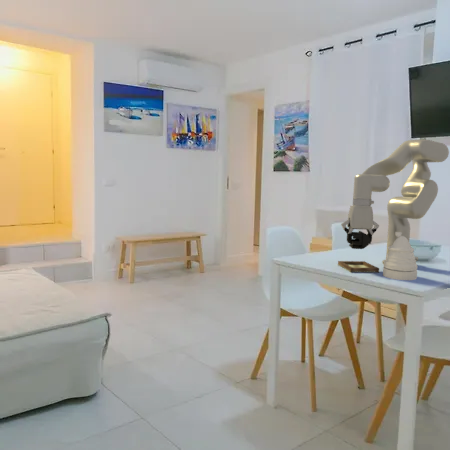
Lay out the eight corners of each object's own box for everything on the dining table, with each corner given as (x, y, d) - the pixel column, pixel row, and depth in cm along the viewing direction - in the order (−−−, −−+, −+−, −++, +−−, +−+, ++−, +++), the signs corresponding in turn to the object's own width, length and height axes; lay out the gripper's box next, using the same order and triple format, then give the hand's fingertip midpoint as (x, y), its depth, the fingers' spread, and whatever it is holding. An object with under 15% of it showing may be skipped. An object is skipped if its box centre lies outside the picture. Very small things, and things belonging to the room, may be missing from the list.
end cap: (369, 249, 188) (370, 233, 188) (352, 248, 189) (353, 233, 188) (365, 246, 198) (365, 231, 197) (348, 245, 199) (349, 230, 198)
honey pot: (376, 275, 183) (379, 231, 181) (394, 272, 190) (397, 230, 188) (404, 281, 172) (407, 235, 170) (423, 278, 180) (426, 234, 178)
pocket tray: (364, 265, 203) (364, 261, 203) (378, 272, 188) (379, 268, 188) (337, 264, 202) (338, 261, 202) (350, 272, 187) (350, 268, 187)
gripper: (377, 203, 196) (374, 242, 198) (339, 201, 195) (336, 241, 197) (385, 204, 189) (381, 244, 191) (345, 202, 187) (342, 244, 189)
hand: (358, 242), depth 194 cm, fingers closed on end cap, 8 cm apart
